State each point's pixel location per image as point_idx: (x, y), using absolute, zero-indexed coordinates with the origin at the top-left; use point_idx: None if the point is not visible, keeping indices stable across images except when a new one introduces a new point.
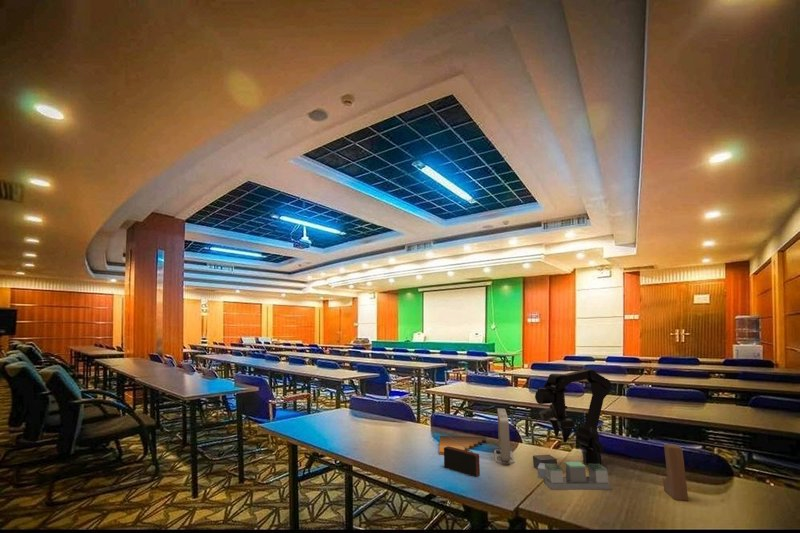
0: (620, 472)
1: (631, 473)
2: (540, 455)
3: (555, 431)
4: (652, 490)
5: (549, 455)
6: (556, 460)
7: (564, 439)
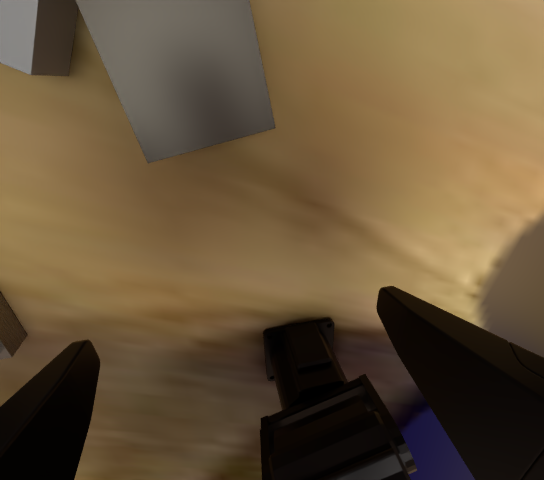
0: (200, 412)
1: (195, 436)
2: (237, 7)
3: (424, 337)
4: None
5: (247, 120)
6: (147, 154)
7: (38, 386)
